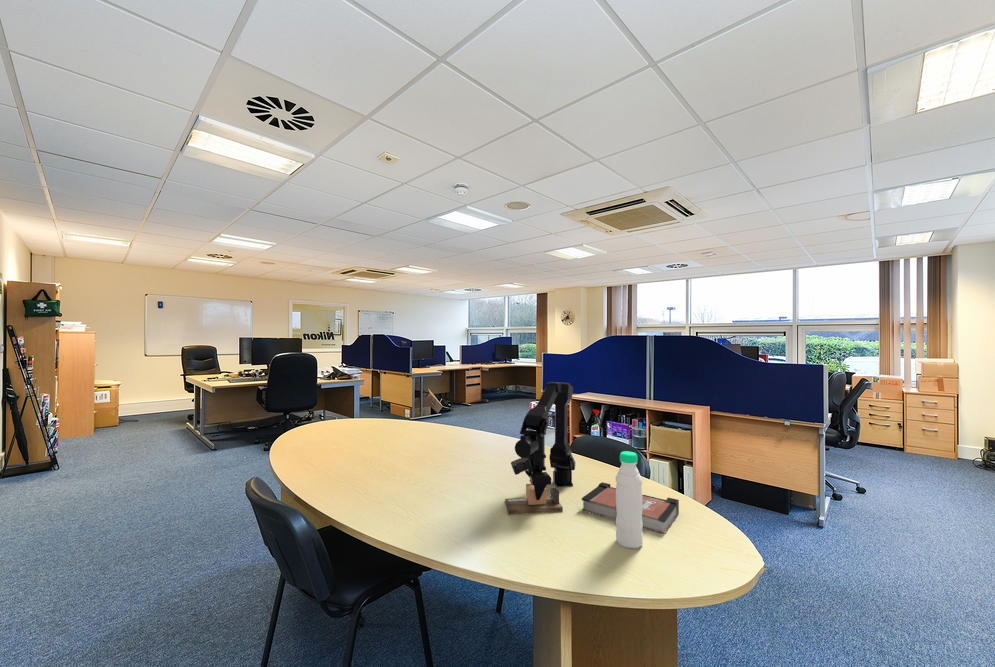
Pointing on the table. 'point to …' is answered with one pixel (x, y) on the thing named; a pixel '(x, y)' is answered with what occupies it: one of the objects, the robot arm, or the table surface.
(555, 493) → the guide rail
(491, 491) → the table surface
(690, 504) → the table surface
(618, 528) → the water bottle
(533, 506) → the board
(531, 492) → the block
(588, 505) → the book
